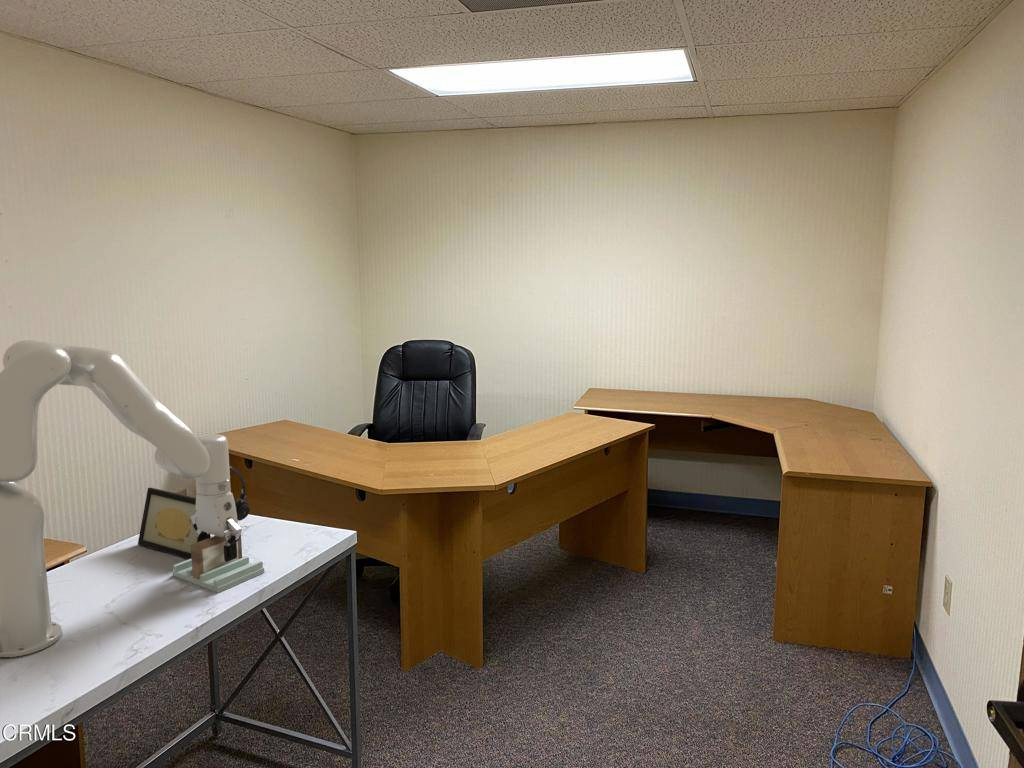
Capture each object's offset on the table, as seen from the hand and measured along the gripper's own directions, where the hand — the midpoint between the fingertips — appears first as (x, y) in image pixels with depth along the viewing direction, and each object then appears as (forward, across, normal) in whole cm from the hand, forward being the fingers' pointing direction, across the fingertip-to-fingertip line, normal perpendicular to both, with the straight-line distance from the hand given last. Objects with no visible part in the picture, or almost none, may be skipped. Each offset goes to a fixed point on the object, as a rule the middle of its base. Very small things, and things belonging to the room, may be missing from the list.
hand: (217, 555), depth 177 cm
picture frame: (+5, +22, -5) cm, 23 cm away
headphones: (+5, +19, -19) cm, 27 cm away
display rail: (+5, 0, 0) cm, 5 cm away
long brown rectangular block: (+4, 0, 0) cm, 4 cm away
